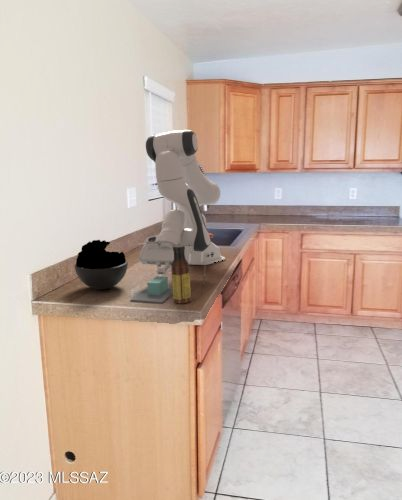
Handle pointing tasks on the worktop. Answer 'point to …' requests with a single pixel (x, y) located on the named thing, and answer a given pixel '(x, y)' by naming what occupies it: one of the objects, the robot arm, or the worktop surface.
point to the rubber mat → (152, 296)
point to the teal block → (157, 285)
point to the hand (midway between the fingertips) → (160, 273)
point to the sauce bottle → (180, 276)
